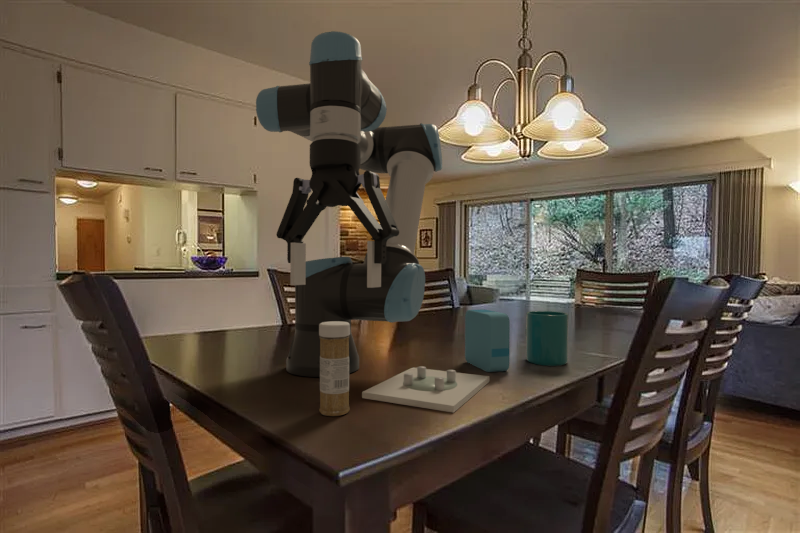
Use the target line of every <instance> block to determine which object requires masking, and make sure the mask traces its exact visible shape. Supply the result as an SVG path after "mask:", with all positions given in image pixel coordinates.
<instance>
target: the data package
mask: <svg viewBox="0 0 800 533" xmlns="http://www.w3.org/2000/svg"><path fill="white" fill-rule="evenodd" d="M464 318H465V320H464V323H465V324H464V326H465V328H464V342H465V343H464V345H465V346H464V358H465V361H466V363H467V364H469V363H470V364H469V365H471V364H472V366H474V367H476V368H478V369H480V370H481V371H484V372H486V373H496V372H498V373H499V372H507V371H508V370H509V368H510V329H511V328H510V327H511V326H510V325H511V323H510V317H509V315H508V313H504V312H498V311H494V310H489V309H468V310H466V312H465V317H464Z"/></svg>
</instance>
